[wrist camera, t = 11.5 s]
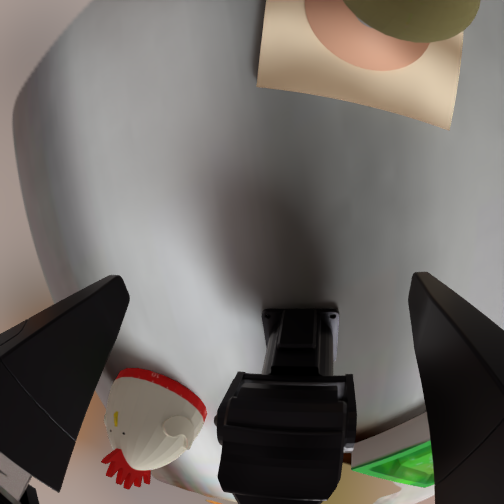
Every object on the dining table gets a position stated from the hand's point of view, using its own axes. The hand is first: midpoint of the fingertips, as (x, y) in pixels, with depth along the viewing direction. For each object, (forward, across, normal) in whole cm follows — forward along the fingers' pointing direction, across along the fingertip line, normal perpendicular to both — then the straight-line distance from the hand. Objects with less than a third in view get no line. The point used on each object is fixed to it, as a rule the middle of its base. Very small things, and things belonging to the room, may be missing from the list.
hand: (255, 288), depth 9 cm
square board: (+13, -6, -10) cm, 17 cm away
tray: (+14, -25, +40) cm, 49 cm away
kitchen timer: (+13, +20, +30) cm, 38 cm away
